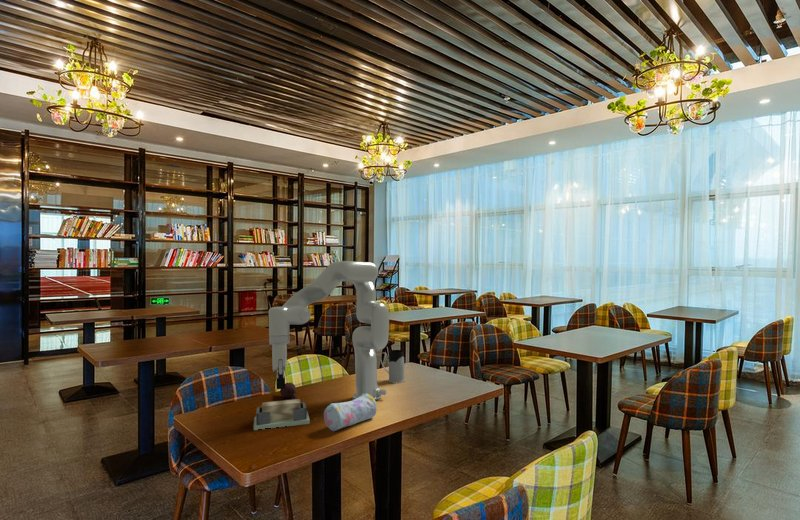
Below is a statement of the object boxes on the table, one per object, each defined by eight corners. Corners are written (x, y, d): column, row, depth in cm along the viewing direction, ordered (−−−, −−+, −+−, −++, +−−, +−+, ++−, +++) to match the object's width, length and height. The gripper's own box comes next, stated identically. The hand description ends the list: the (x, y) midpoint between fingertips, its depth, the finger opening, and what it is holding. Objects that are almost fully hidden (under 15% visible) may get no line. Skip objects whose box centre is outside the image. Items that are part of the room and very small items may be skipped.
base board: (307, 414, 183) (307, 411, 183) (309, 423, 172) (309, 419, 172) (254, 420, 178) (254, 417, 178) (253, 430, 167) (253, 426, 167)
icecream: (272, 382, 212) (285, 391, 200) (287, 375, 217) (300, 384, 205) (276, 395, 214) (289, 405, 202) (290, 388, 218) (304, 398, 206)
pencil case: (363, 414, 182) (362, 390, 182) (379, 418, 176) (378, 393, 176) (322, 430, 166) (321, 403, 166) (338, 435, 160) (337, 407, 160)
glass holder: (399, 383, 227) (398, 353, 227) (376, 380, 235) (375, 351, 235) (408, 379, 235) (407, 350, 235) (385, 376, 242) (385, 348, 242)
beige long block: (300, 414, 179) (299, 398, 179) (300, 418, 174) (300, 402, 175) (262, 418, 176) (262, 402, 176) (262, 422, 171) (261, 406, 171)
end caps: (305, 412, 182) (304, 401, 182) (306, 419, 173) (306, 408, 173) (257, 417, 177) (256, 407, 177) (256, 425, 168) (256, 414, 168)
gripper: (269, 337, 182) (270, 384, 182) (269, 343, 167) (270, 394, 167) (288, 335, 184) (290, 382, 184) (290, 341, 169) (291, 392, 169)
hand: (280, 387), depth 175 cm, fingers closed
